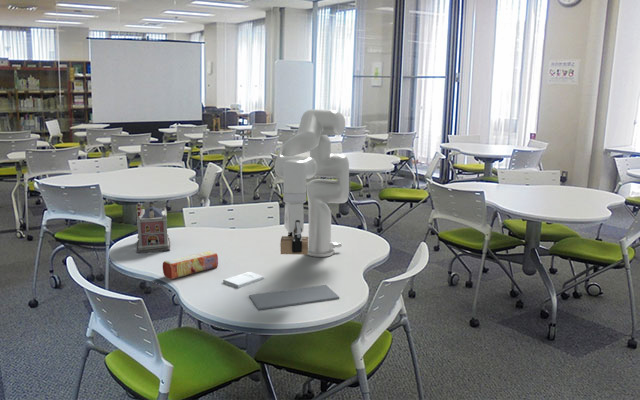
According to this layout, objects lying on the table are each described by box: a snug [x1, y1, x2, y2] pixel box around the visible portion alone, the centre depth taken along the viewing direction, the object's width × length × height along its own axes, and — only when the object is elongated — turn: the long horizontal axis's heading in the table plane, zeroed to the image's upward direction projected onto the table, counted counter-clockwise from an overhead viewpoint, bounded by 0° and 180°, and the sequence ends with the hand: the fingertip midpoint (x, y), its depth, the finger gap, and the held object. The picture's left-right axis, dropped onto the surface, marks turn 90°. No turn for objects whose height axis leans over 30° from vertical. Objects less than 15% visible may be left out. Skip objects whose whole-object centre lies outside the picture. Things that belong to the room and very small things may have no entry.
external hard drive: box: [222, 271, 265, 289], centre depth 202 cm, size 2×8×12 cm
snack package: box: [162, 250, 219, 280], centre depth 210 cm, size 21×7×7 cm, turn 135°
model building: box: [135, 201, 171, 254], centre depth 240 cm, size 19×14×20 cm
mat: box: [249, 284, 340, 311], centre depth 187 cm, size 28×12×1 cm, turn 111°
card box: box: [280, 235, 309, 256], centre depth 186 cm, size 6×9×5 cm, turn 90°
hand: (294, 248), depth 186 cm, fingers closed on card box, 6 cm apart
